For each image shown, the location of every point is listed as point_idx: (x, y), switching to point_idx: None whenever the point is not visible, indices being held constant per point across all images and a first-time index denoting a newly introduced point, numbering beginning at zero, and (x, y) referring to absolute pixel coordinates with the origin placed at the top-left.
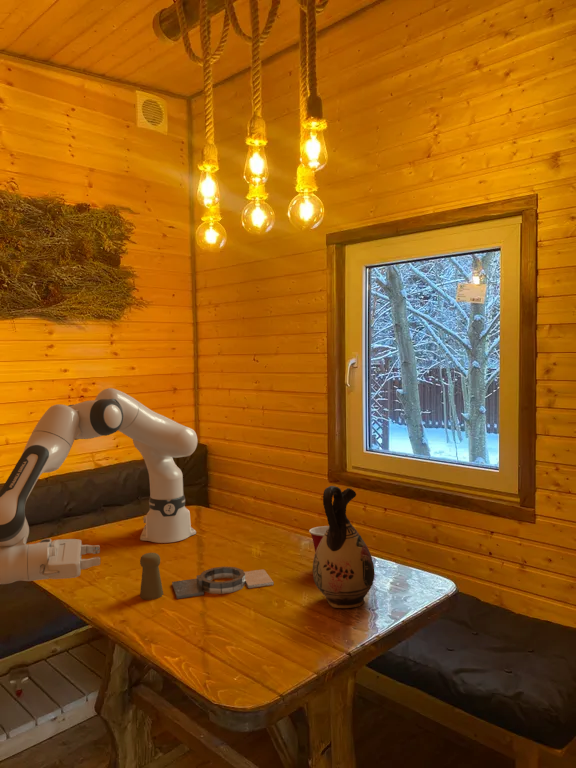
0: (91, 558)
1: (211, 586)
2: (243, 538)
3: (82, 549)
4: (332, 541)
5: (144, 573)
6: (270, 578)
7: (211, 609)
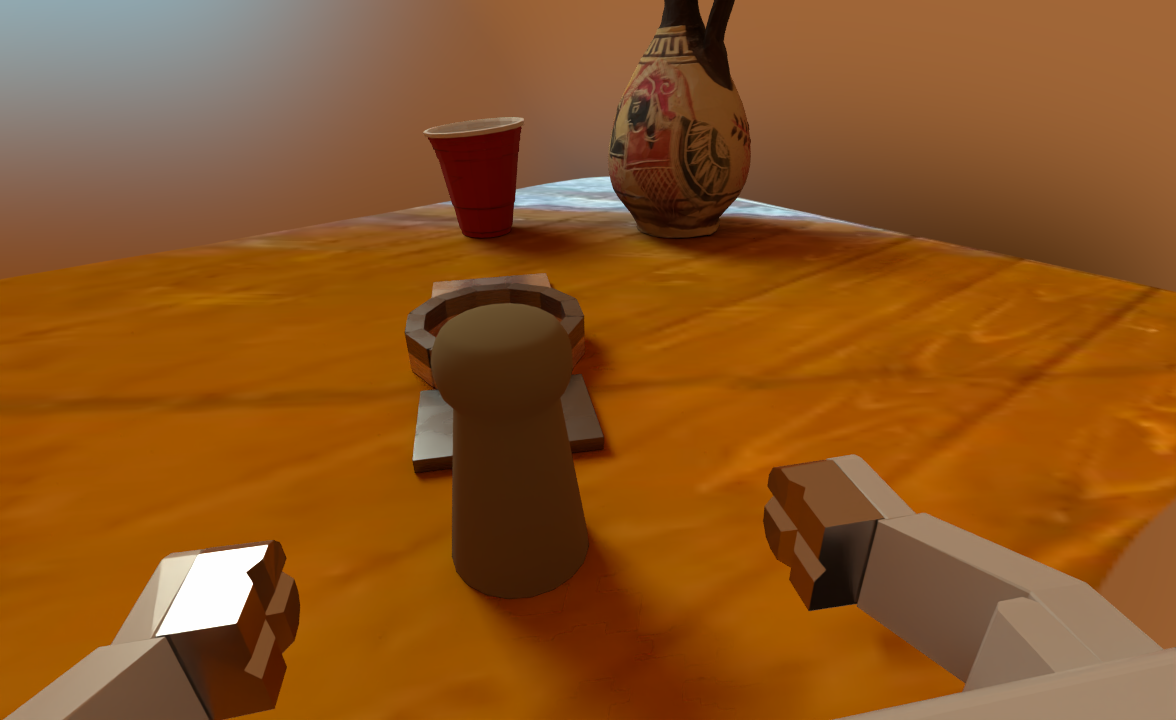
0: (912, 526)
1: (571, 344)
2: (47, 316)
3: None
4: (726, 66)
5: (549, 440)
6: (516, 276)
7: (717, 368)
